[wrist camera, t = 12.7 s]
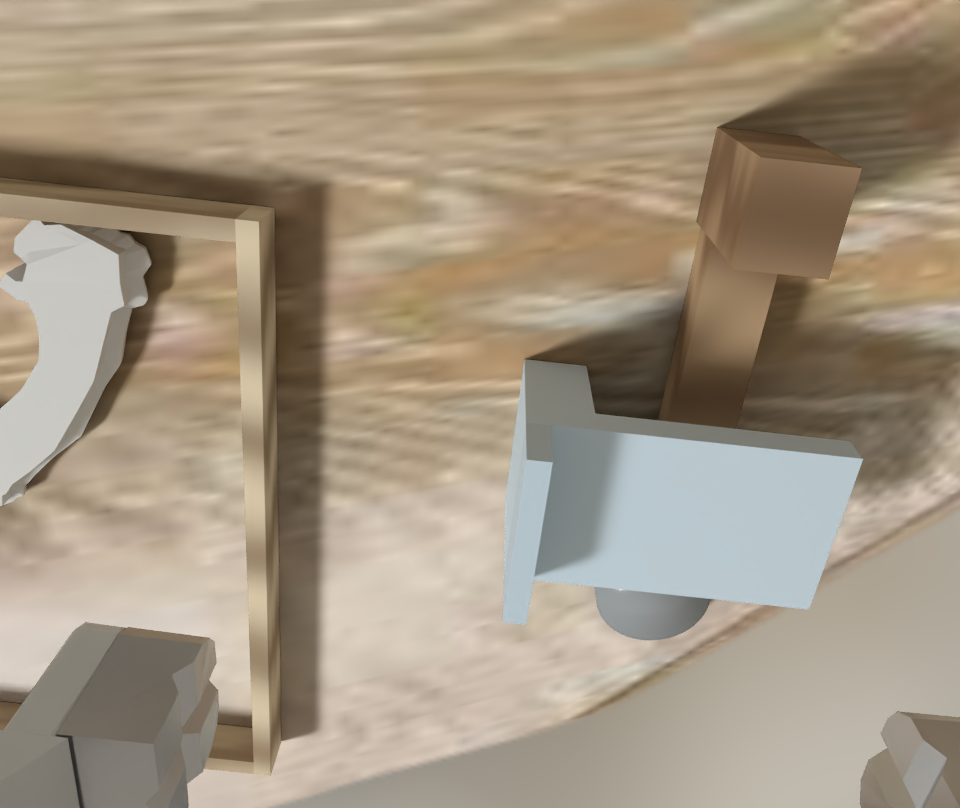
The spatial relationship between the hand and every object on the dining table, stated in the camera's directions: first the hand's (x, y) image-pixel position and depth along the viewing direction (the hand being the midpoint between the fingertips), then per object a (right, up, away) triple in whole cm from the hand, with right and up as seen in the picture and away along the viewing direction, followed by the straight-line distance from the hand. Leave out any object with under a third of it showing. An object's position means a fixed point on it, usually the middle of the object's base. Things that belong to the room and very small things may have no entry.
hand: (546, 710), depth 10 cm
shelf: (+8, +2, +31) cm, 32 cm away
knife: (-29, 0, +34) cm, 45 cm away
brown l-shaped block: (+10, +8, +28) cm, 31 cm away
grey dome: (+8, -6, +35) cm, 37 cm away
